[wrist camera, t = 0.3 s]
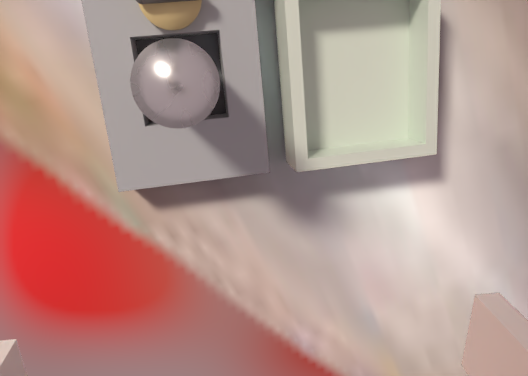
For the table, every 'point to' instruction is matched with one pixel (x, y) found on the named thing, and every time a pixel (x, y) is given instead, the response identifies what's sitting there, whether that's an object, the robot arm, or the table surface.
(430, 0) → the parts tray
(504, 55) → the table surface
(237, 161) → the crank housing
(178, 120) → the shiny metal cylinder
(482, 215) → the table surface
